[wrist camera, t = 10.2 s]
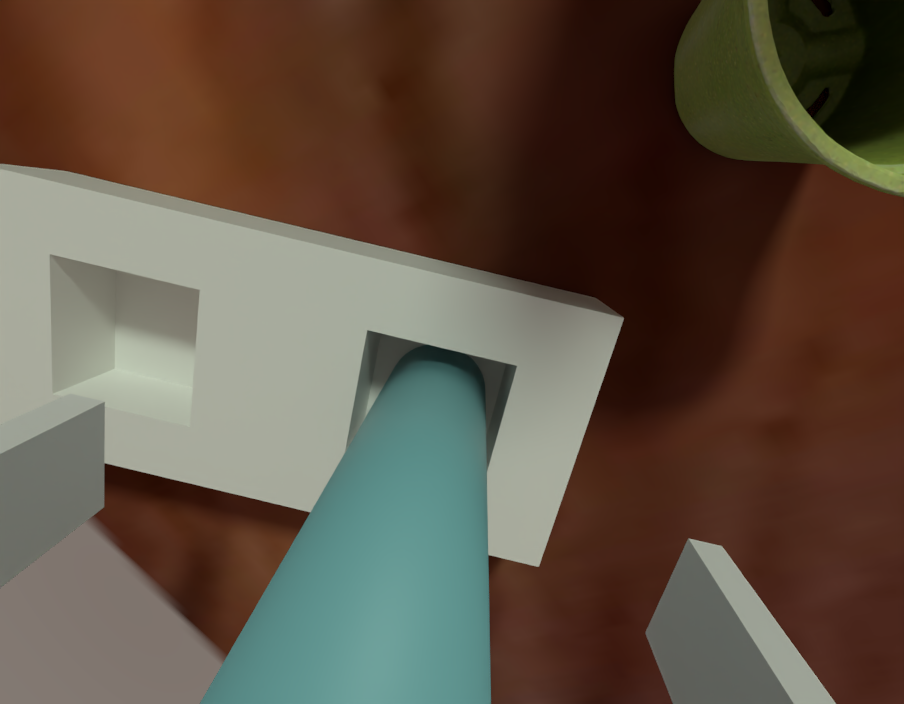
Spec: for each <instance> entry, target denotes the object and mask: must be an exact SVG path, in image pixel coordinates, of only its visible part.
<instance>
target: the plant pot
mask: <svg viewBox="0 0 904 704" xmlns="http://www.w3.org/2000/svg"><path fill="white" fill-rule="evenodd" d="M828 1H829V3H830V4H831V9H832V14H831V15H830V16H829V17H824V16H823V15H822V13H821V11H820V10H819V9H818V8H817V7H816V5H814V3H813V2H812V1H811V0H702V1H701V2H700V4H699V5H698V7H697V9H696V10H695V12H694V13H693V15H692V16H691V18H690V20H689V22H688V23H687V25H686V27H685V29H684V32H683V34H682V36H681V38H680V41H679V44H678V47H677V50H676V54H675V62H674V89H675V104H676V107H677V110H678V113H679V116H680V118H681V120H682V122H683V124H684V126H685V127H686V129H687V130H688V132H689V133H690V134H691V135H692V136H693V137H694V138H695V139H696V140H697V141H698V142H699V143H700V144H701V145H703V146H704V147H705V148H707V149H709V150H710V151H712V152H714V153H716V154H719V155H721V156H724V157H727V158H731V159H737V160H747V161H772V162H794V163H809V164H824V165H826V166H828V167H829V168H831V169H832V170H834V171H836V172H837V173H839V174H841V175H843V176H845V177H847V178H849V179H851V180H853V181H855V182H857V183H860V184H863V185H865V186H868V187H870V188H873V189H876V190H878V191H881V192H884V193H888V194H892V195H896V196H901V197H904V0H828ZM825 88H828V93H829V95H828V98H827V100H826V101H825V103H824V104H823V105H822V107H821V108H820V109H819V110H818V112H817V113H816V114H815V115H814V117H812V118H811V116H810V115H809V114H808V113H807V112H806V110H807V109H808V108H809V107H810V106H812V105H813V103H814V102H815V101H816V99H817V98H819V95H820V94H821V93H822V91H823V90H824V89H825Z"/></svg>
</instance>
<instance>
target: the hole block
mask: <svg viewBox="0 0 904 704" xmlns="http://www.w3.org/2000/svg"><path fill="white" fill-rule="evenodd" d="M623 320H624V318H623V317H622V316H621V315H619V314H618V313H616V312H615V311H614V310H612V309H611V308H609V307H608V306H607V305H605V304H604V303H602V302H601V301H600V300H598V299H597V298H595V297H590V296H586V295H582V294H578V293H574V292H569V291H565V290H561V289H557V288H553V287H549V286H544V285H540V284H536V283H532V282H528V281H523V280H519V279H515V278H511V277H507V276H503V275H498V274H494V273H490V272H486V271H482V270H477V269H473V268H469V267H465V266H461V265H457V264H452V263H448V262H444V261H440V260H436V259H432V258H427V257H423V256H419V255H415V254H411V253H406V252H402V251H398V250H394V249H390V248H386V247H381V246H377V245H373V244H369V243H365V242H360V241H356V240H352V239H348V238H344V237H340V236H335V235H331V234H327V233H323V232H319V231H314V230H310V229H306V228H302V227H298V226H294V225H289V224H285V223H281V222H277V221H273V220H269V219H264V218H260V217H256V216H252V215H248V214H243V213H239V212H235V211H231V210H227V209H223V208H218V207H214V206H210V205H206V204H202V203H197V202H193V201H189V200H185V199H181V198H177V197H172V196H168V195H164V194H160V193H156V192H151V191H147V190H143V189H139V188H135V187H131V186H126V185H122V184H118V183H114V182H110V181H105V180H101V179H97V178H93V177H89V176H85V175H80V174H76V173H72V172H68V171H60V170H51V169H42V168H33V167H24V166H16V165H7V164H0V424H2V423H4V422H7V421H9V420H11V419H14V418H16V417H18V416H20V415H23V414H25V413H27V412H29V411H32V410H34V409H36V408H39V407H41V406H43V405H45V404H48V403H50V402H52V401H54V400H57V399H59V398H61V397H64V396H66V395H68V394H74V395H79V396H83V397H87V398H92V399H96V400H100V401H104V402H105V446H104V463H106V464H110V465H115V466H119V467H123V468H127V469H131V470H136V471H140V472H144V473H148V474H152V475H156V476H161V477H165V478H169V479H173V480H177V481H182V482H186V483H190V484H194V485H198V486H202V487H207V488H211V489H215V490H219V491H223V492H228V493H232V494H236V495H240V496H244V497H248V498H253V499H257V500H261V501H265V502H269V503H274V504H278V505H282V506H286V507H290V508H294V509H299V510H303V511H307V512H311V511H312V509H313V507H314V505H315V504H316V502H317V500H318V499H319V497H320V495H321V493H322V492H323V490H324V488H325V486H326V485H327V483H328V481H329V480H330V478H331V476H332V474H333V473H334V471H335V469H336V467H337V466H338V464H339V462H340V461H341V459H342V457H343V455H344V454H345V452H346V450H347V448H348V447H349V445H350V443H351V442H352V440H353V438H354V436H355V435H356V433H357V431H358V429H359V428H360V426H361V424H362V423H363V421H364V419H365V417H366V416H367V414H368V412H369V410H370V409H371V407H372V405H373V404H374V402H375V400H376V398H377V397H378V395H379V393H380V391H381V390H382V388H383V386H384V385H385V383H386V381H387V379H388V378H389V376H390V374H391V372H392V371H393V369H394V367H395V366H396V364H397V363H398V361H399V360H400V359H401V358H402V357H403V356H404V355H405V354H406V353H408V352H409V351H411V350H413V349H415V348H417V347H420V346H423V345H432V346H436V347H440V348H444V349H448V350H453V351H457V352H461V353H465V354H467V355H468V356H470V357H471V358H472V359H473V360H474V361H475V363H476V364H477V366H478V367H479V369H480V371H481V373H482V375H483V378H484V382H485V397H486V453H487V510H488V555H491V556H495V557H499V558H504V559H508V560H512V561H516V562H520V563H525V564H529V565H533V566H537V567H539V565H540V562H541V559H542V556H543V553H544V550H545V547H546V544H547V541H548V538H549V535H550V533H551V530H552V527H553V524H554V521H555V518H556V515H557V512H558V509H559V506H560V503H561V501H562V498H563V495H564V492H565V489H566V486H567V483H568V480H569V477H570V474H571V471H572V469H573V466H574V463H575V460H576V457H577V454H578V451H579V448H580V445H581V442H582V439H583V437H584V434H585V431H586V428H587V425H588V422H589V419H590V416H591V413H592V410H593V407H594V405H595V402H596V399H597V396H598V393H599V390H600V387H601V384H602V381H603V378H604V375H605V373H606V370H607V367H608V364H609V361H610V358H611V355H612V352H613V349H614V346H615V343H616V341H617V338H618V335H619V332H620V329H621V326H622V323H623Z"/></svg>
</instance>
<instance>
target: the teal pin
mask: <svg viewBox="0 0 904 704" xmlns="http://www.w3.org/2000/svg"><path fill="white" fill-rule="evenodd" d="M200 704H491V680H490V623H489V566H488V510H487V453H486V397H485V382H484V378H483V375H482V373H481V371H480V369H479V367H478V366H477V364H476V363H475V361H474V360H473V359H472V358H471V357H470V356H468V355H467V354H465V353H461V352H457V351H453V350H448V349H444V348H440V347H436V346H432V345H423V346H420V347H417V348H415V349H413V350H411V351H409V352H408V353H406V354H405V355H404V356H403V357H402V358H401V359H400V360H399V361H398V363H397V364H396V366H395V367H394V369H393V371H392V372H391V374H390V376H389V378H388V379H387V381H386V383H385V385H384V386H383V388H382V390H381V391H380V393H379V395H378V397H377V398H376V400H375V402H374V404H373V405H372V407H371V409H370V410H369V412H368V414H367V416H366V417H365V419H364V421H363V423H362V424H361V426H360V428H359V429H358V431H357V433H356V435H355V436H354V438H353V440H352V442H351V443H350V445H349V447H348V448H347V450H346V452H345V454H344V455H343V457H342V459H341V461H340V462H339V464H338V466H337V467H336V469H335V471H334V473H333V474H332V476H331V478H330V480H329V481H328V483H327V485H326V486H325V488H324V490H323V492H322V493H321V495H320V497H319V499H318V500H317V502H316V504H315V505H314V507H313V509H312V511H311V512H310V514H309V516H308V518H307V519H306V521H305V523H304V524H303V526H302V528H301V530H300V531H299V533H298V535H297V537H296V538H295V540H294V542H293V543H292V545H291V547H290V549H289V550H288V552H287V554H286V556H285V557H284V559H283V561H282V562H281V564H280V566H279V568H278V569H277V571H276V573H275V575H274V576H273V578H272V580H271V581H270V583H269V585H268V587H267V588H266V590H265V592H264V594H263V595H262V597H261V599H260V600H259V602H258V604H257V606H256V607H255V609H254V611H253V613H252V614H251V616H250V618H249V619H248V621H247V623H246V625H245V626H244V628H243V630H242V632H241V633H240V635H239V637H238V638H237V640H236V642H235V644H234V645H233V647H232V649H231V651H230V652H229V654H228V656H227V658H226V659H225V661H224V663H223V664H222V666H221V668H220V670H219V671H218V673H217V675H216V677H215V678H214V680H213V682H212V683H211V685H210V687H209V689H208V690H207V692H206V694H205V696H204V697H203V699H202V701H201V702H200Z"/></svg>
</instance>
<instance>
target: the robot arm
mask: <svg viewBox="0 0 904 704" xmlns="http://www.w3.org/2000/svg"><path fill="white" fill-rule="evenodd" d="M104 446H105V402H104V401H100V400H96V399H92V398H87V397H83V396H79V395H74V394H68V395H66V396H64V397H61V398H59V399H57V400H54V401H52V402H50V403H48V404H45V405H43V406H41V407H39V408H36V409H34V410H32V411H29V412H27V413H25V414H23V415H20V416H18V417H16V418H14V419H11V420H9V421H7V422H4V423H2V424H0V588H1V587H2V586H4V585H5V584H6V583H7V582H9V581H10V580H11V579H12V578H14V577H15V576H16V575H18V574H19V573H20V572H21V571H23V570H24V569H25V568H27V567H28V566H29V565H30V564H32V563H33V562H34V561H36V560H37V559H38V558H39V557H40V556H42V555H43V554H45V553H46V552H47V551H48V550H50V549H51V548H52V547H54V546H55V545H56V544H57V543H59V542H60V541H61V540H62V539H64V538H65V537H66V536H68V535H69V534H70V533H71V532H73V531H74V530H75V529H77V528H78V527H79V526H80V525H82V524H83V523H84V522H86V521H87V520H88V519H89V518H91V517H92V516H93V515H95V514H96V513H97V512H98V511H100V510H101V509H102V508H104ZM646 636H647V638H648V641H649V644H650V646H651V649H652V651H653V654H654V656H655V659H656V661H657V664H658V667H659V669H660V672H661V674H662V677H663V679H664V682H665V684H666V687H667V689H668V692H669V695H670V697H671V700H672V702H673V704H836V703H835V702H834V700H833V699H832V698H831V696H830V695H829V693H828V692H827V691H826V689H825V688H824V687H823V685H822V684H821V682H820V681H819V680H818V678H817V677H816V675H815V674H814V673H813V671H812V670H811V669H810V667H809V666H808V664H807V663H806V662H805V660H804V659H803V658H802V656H801V655H800V653H799V652H798V651H797V649H796V648H795V646H794V645H793V644H792V642H791V641H790V640H789V638H788V637H787V635H786V634H785V633H784V631H783V630H782V628H781V627H780V626H779V624H778V623H777V622H776V620H775V619H774V617H773V616H772V615H771V613H770V612H769V611H768V609H767V608H766V606H765V605H764V604H763V602H762V601H761V599H760V598H759V597H758V595H757V594H756V593H755V591H754V590H753V588H752V587H751V586H750V584H749V583H748V581H747V580H746V579H745V577H744V576H743V575H742V573H741V572H740V570H739V569H738V568H737V566H736V565H735V564H734V562H733V561H732V559H731V558H730V557H729V555H728V554H727V552H726V551H725V550H724V548H723V547H722V546H719V545H714V544H710V543H706V542H702V541H697V540H693V539H689V538H688V540H687V543H686V545H685V547H684V549H683V551H682V554H681V556H680V558H679V560H678V562H677V565H676V567H675V569H674V571H673V573H672V575H671V578H670V580H669V582H668V584H667V586H666V589H665V591H664V593H663V595H662V597H661V600H660V602H659V604H658V606H657V608H656V611H655V613H654V615H653V617H652V619H651V622H650V624H649V626H648V628H647V630H646Z"/></svg>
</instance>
